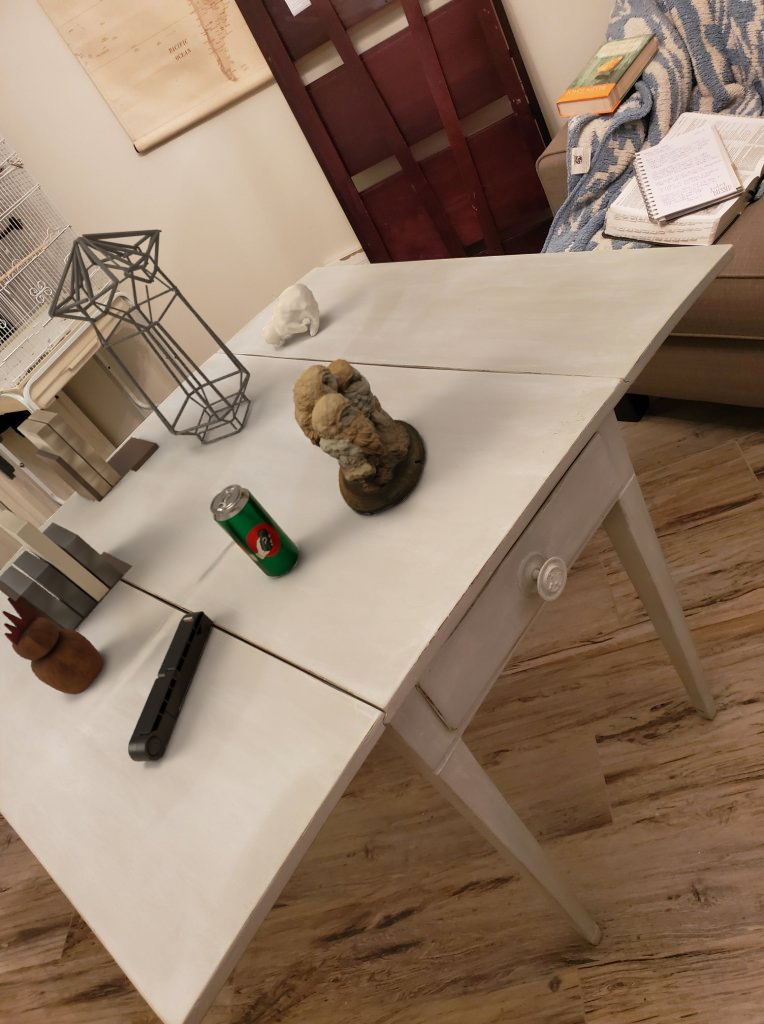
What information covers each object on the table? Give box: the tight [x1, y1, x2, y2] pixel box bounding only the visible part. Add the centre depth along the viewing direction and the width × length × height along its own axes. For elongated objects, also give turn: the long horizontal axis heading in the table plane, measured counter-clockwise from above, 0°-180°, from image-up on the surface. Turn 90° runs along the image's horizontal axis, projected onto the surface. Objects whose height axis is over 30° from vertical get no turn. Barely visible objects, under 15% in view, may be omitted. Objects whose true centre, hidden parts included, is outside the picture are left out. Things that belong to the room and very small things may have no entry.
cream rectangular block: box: [0, 509, 109, 602], centre depth 99 cm, size 2×9×15 cm, turn 50°
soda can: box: [209, 484, 300, 578], centre depth 84 cm, size 5×5×12 cm
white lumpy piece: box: [261, 282, 320, 348], centre depth 127 cm, size 6×8×12 cm
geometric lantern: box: [47, 228, 252, 445], centre depth 110 cm, size 16×16×35 cm
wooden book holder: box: [16, 408, 160, 503], centre depth 122 cm, size 14×10×16 cm
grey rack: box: [0, 522, 133, 631], centre depth 101 cm, size 13×10×10 cm
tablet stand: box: [127, 610, 214, 763], centre depth 80 cm, size 18×3×3 cm, turn 168°
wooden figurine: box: [2, 597, 105, 695], centre depth 86 cm, size 7×6×15 cm
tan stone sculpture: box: [292, 358, 426, 515], centre depth 86 cm, size 18×12×17 cm, turn 5°
